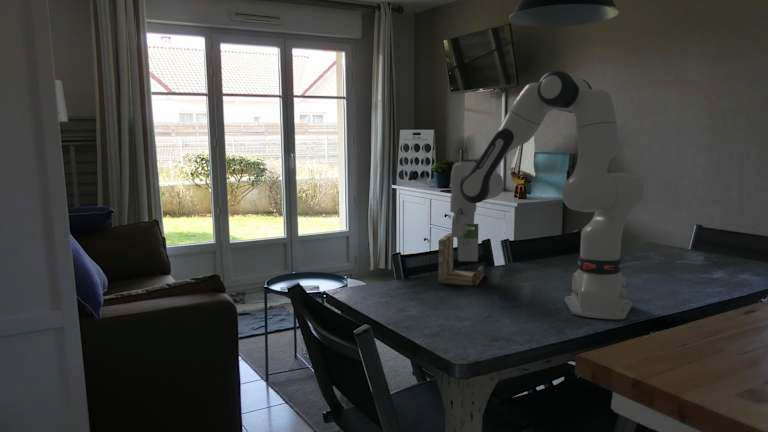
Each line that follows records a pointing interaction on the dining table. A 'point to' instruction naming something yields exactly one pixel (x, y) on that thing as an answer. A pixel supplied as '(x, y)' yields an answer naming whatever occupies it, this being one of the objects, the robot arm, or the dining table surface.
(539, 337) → the dining table surface
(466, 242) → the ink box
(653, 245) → the dining table surface
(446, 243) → the board
